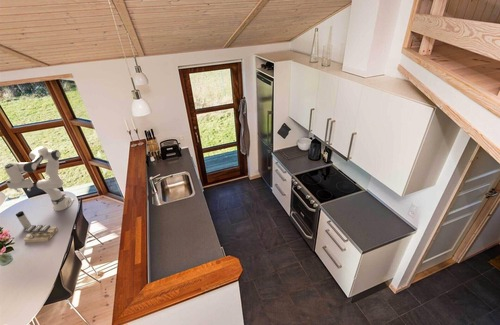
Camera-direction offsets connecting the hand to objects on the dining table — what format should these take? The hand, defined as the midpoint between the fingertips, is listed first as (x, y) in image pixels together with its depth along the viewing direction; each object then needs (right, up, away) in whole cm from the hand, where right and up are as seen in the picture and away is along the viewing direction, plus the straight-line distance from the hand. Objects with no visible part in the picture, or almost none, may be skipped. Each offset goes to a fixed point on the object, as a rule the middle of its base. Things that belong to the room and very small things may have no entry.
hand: (24, 191), depth 240 cm
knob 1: (+1, -44, +9) cm, 45 cm away
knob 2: (+8, -44, +9) cm, 45 cm away
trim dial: (+5, -47, +3) cm, 47 cm away
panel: (+8, -47, +11) cm, 49 cm away
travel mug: (-16, -41, +22) cm, 50 cm away
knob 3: (+15, -43, +9) cm, 47 cm away
